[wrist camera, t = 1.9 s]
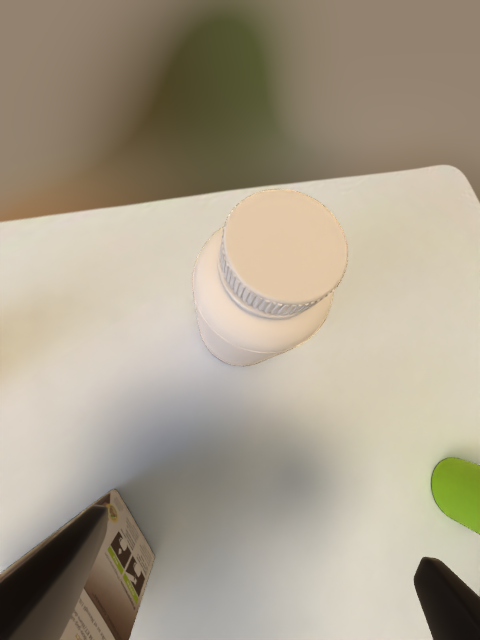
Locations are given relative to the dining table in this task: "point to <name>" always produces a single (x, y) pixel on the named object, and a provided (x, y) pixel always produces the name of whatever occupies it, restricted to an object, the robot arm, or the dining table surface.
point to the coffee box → (108, 577)
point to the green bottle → (458, 491)
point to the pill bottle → (268, 276)
